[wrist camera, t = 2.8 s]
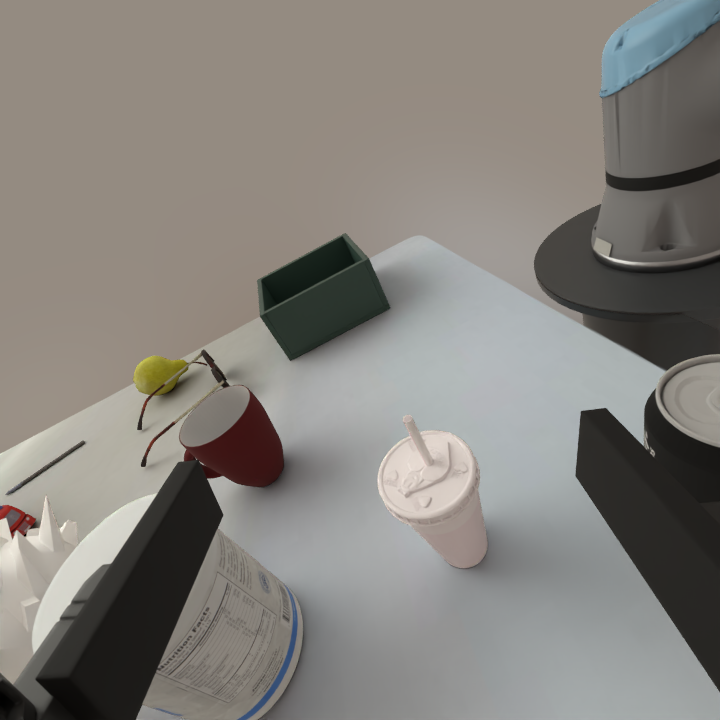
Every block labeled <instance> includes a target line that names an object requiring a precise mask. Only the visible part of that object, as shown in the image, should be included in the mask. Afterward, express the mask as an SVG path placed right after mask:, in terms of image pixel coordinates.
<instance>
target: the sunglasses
mask: <svg viewBox="0 0 720 720" xmlns="http://www.w3.org/2000/svg"><path fill="white" fill-rule="evenodd" d="M202 355H203V357H204V359H205V360H206V362H207V363H208V364H209V366H210V367H211V368H212V369H211V371H212V373H213V375H214V377H215V378H216V380H217V381H218V384H217V385H216V386H215V387H213V388H212V389H211V390H210V392H208V393H207V394H206V395H205V396H204V397H203V398H201V399H200V400H199V401H198V402H197V403H196V404H194V405H193V406H192V407H191V408H190V409H188V410H187V411H186V412H185V413H184V414H182V415H181V416H180V417H179V418H178V419H176V420H175V421H174V422H172V423H171V424H170V425H169V426H168V427H166V428H165V429H164V430H163V431H162V432H160V433H159V434H158V435H157V436H156V437H155V438H154V439H153V440H152V441H151V442H150V444H149V446H148V448H147V450H146V453H145V455H144V457H143V459H142V462H141V467H145V466H146V461H147V455H148V453H149V451H150V449H151V447H152V445H153V443H154V442H155V441H156V440H157V439H158V438H159V437H160V436H161V435H163V434H164V433H165V432H166V431H167V430H169V429H170V428H171V427H172V426H173V425H175V424H176V423H177V422H178V421H179V420H180V419H182V418H183V417H184V416H185V415H186V414H188V413H189V412H190V411H191V410H192V409H193V408H195V407H196V406H197V405H198V404H199V403H200V402H202V401H203V400H204V399H205V398H206V397H207V396H209V395H210V394H211V393H213V392H214V391H215V390H216V389H218V388H219V387H220V386H223V387H224V388H226V387H229V386H230V385H229V384H228V383H227V382H226V380H227V379H226V377H225V375H224V374H223V372H222V371H221V370H220V369H219V368H218V366H217V365H216V364H215V363H214V360H213V359H212V358H211V357H210V356H209V354H208V353H207V352H206V351H205V350H202V351H201V353H200V354H199V355H198V356H197V357H195V358H194V359H193V360H192V361H191V362H190V363H189V364H187V365H186V366H185V367H184V368H183V369H181V370H180V371H179V372H178V373H176V374H175V375H174V376H173V377H171V378H170V379H169V380H168V381H166V382H165V383H164V384H163V385H161V386H160V387H159V388H158V389H157V390H155V391H154V392H153V393H152V394H151V395H150V396H149V397H148V398H147V399H146V401H145V403H144V405H143V408H142V412H141V415H140V419H139V422H138V428H137V430H142V417H143V414H144V410H145V407H146V405H147V402H148V401H149V400H150V398H151V397H152V396H153V395H154V394H156V393H157V392H158V391H159V390H160V389H162V388H163V387H164V386H165V385H166V384H167V383H169V382H170V381H171V380H172V379H174V378H175V377H176V376H177V375H179V374H180V373H181V372H182V371H183V370H185V369H186V368H187V367H188V366H189V365H191V364H192V363H193V362H194V361H196V360H198V359H199V358H200V357H201V356H202Z"/></svg>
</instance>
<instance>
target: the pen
mask: <svg viewBox="0 0 720 720" xmlns="http://www.w3.org/2000/svg"><path fill="white" fill-rule="evenodd" d="M84 443H85V441H81V442H80V443H78V444H77V445H76V446H74V447H73V448H71V449H70V450H68V451H67V452H65V453H64V454H62V455H61V456H59V457H58V458H56V459H55V460H53V461H52V462H50V463H49V464H48V465H46V466H45V467H43V468H42V469H40V470H39V471H37V472H36V473H34V474H33V475H31V476H30V477H28V478H27V479H25V480H24V481H22V482H21V483H19V484H18V485H16V486H15V487H14V488H12V489H11V490H9V491H8V492H7V493H6V494H5V495H8V494H10V493H12V492H14V491H15V490H17V489H18V488H19V487H21V486H22V485H24V484H25V483H27V482H28V481H30V480H31V479H33V478H34V477H35V476H37V475H38V474H40V473H41V472H43V471H44V470H46V469H47V468H49V467H50V466H52V465H53V464H55V463H56V462H57V461H59V460H60V459H62V458H63V457H65V456H66V455H68V454H69V453H71V452H72V451H74V450H75V449H77V448H78V447H79V446H81V445H82V444H84Z"/></svg>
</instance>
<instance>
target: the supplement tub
mask: <svg viewBox="0 0 720 720" xmlns="http://www.w3.org/2000/svg"><path fill="white" fill-rule="evenodd" d="M156 495H157V494H152V495H148V496H145V497H142V498H139V499H137V500H134V501H132V502H130V503H128V504H127V505H125V506H123V507H122V508H120V509H118V510H117V511H115V512H114V513H113V514H111V515H110V516H109V517H107V518H106V519H105V520H103V521H102V522H101V523H100V524H99V525H98V526H97V527H96V528H95V529H93V530H92V531H91V532H90V533H89V534H88V535H87V536H86V537H85V538H84V539H83V540H82V541H81V543H80V544H79V545H78V546H77V547H76V548H75V550H74V551H73V552H72V553H71V554H70V556H69V557H68V558H67V560H66V561H65V562H64V564H63V565H62V566H61V568H60V569H59V571H58V572H57V574H56V575H55V577H54V579H53V580H52V582H51V584H50V586H49V587H48V589H47V591H46V593H45V595H44V597H43V599H42V602H41V604H40V606H39V609H38V612H37V615H36V618H35V622H34V626H33V632H32V648H33V653H34V654H35V652H36V651H37V649H38V648H39V646H40V645H41V644H42V642H43V641H44V639H45V638H46V636H47V635H48V634H49V632H50V631H51V629H52V628H53V626H54V625H55V623H56V622H59V620H60V616H61V615H62V613H63V612H64V611H65V609H66V608H67V606H68V605H70V604H71V600H72V599H73V598H74V596H75V595H76V593H77V592H78V590H79V589H80V588H81V586H82V585H83V583H84V582H85V581H86V580H87V579H88V578H89V577H90V576H91V575H92V574H93V573H94V572H95V571H96V570H97V569H98V568H99V567H101V566H102V565H104V564H111V563H112V562H113V560H114V559H115V557H116V556H117V554H118V553H119V551H120V550H121V548H122V547H123V545H124V544H125V542H126V541H127V539H128V538H129V536H130V534H131V533H132V531H133V530H134V528H135V527H136V525H137V524H138V522H139V521H140V519H141V518H142V516H143V515H144V513H145V512H146V510H147V509H148V507H149V506H150V504H151V503H152V501H153V500H154V498H155V497H156ZM302 639H303V620H302V614H301V609H300V606H299V603H298V601H297V599H296V597H295V596H294V594H293V592H292V591H291V590H290V589H289V588H288V587H287V586H286V585H285V584H284V583H283V582H281V581H280V580H279V579H278V578H277V577H275V576H274V575H273V574H272V573H271V572H269V571H268V570H267V569H266V568H265V567H263V566H262V565H261V564H260V563H259V562H258V561H256V560H255V559H254V558H253V557H252V556H250V555H249V554H248V553H247V552H245V551H244V550H243V549H242V548H241V547H239V546H238V545H237V544H236V543H235V542H233V541H232V540H231V539H230V538H229V537H227V536H226V535H225V534H224V533H223V532H221V531H220V530H219V529H217V531H216V533H215V536H214V538H213V540H212V543H211V545H210V547H209V550H208V552H207V554H206V557H205V559H204V561H203V564H202V566H201V568H200V571H199V573H198V575H197V578H196V580H195V582H194V585H193V587H192V589H191V592H190V594H189V596H188V599H187V601H186V603H185V606H184V608H183V610H182V613H181V615H180V617H179V620H178V622H177V624H176V627H175V629H174V631H173V634H172V636H171V638H170V641H169V643H168V645H167V648H166V650H165V652H164V655H163V657H162V659H161V662H160V664H159V666H158V669H157V671H156V673H155V676H154V678H153V680H152V683H151V685H150V687H149V690H148V692H147V694H146V697H145V699H144V701H143V704H142V705H144V706H147V707H150V708H154V709H157V710H160V711H163V712H166V713H169V714H172V715H175V716H178V717H181V718H184V719H187V720H258V719H259V718H261V717H262V716H263V715H264V714H265V713H266V712H267V711H268V710H269V709H270V708H271V707H272V706H273V705H274V704H275V703H276V702H277V700H278V699H279V698H280V696H281V695H282V694H283V692H284V690H285V689H286V687H287V686H288V684H289V682H290V680H291V678H292V676H293V673H294V671H295V668H296V666H297V663H298V659H299V656H300V652H301V646H302Z"/></svg>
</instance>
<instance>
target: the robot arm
mask: <svg viewBox="0 0 720 720" xmlns="http://www.w3.org/2000/svg"><path fill="white" fill-rule="evenodd" d="M600 97H601V98H602V107H603V127H604V148H605V169H606V189H605V193H604V196H603V200H602V204H601V208H600V213H599V217H598V220H597V222H596V223H595V225H594V228H593V231H592V238H591V243H592V253H593V255H594V257H595V258H596V259H597V260H598V261H599V262H600V263H602V264H604V265H606V266H608V267H611V268H613V269H617V270H621V271H626V272H634V273H667V272H676V271H683V270H689V269H694V268H698V267H702V266H706V265H709V264H712V263H715V262H718V261H720V0H659V1H657V2H656V3H654V4H653V5H651V6H649V7H648V8H646V9H644V10H643V11H641V12H640V13H638V14H637V15H635V16H634V17H632V18H631V19H629V20H628V21H627V22H625V23H624V24H623V25H622V26H620V27H619V28H618V29H617V30H616V31H615V32H614V33H613V35H612V36H611V37H610V38H609V40H608V41H607V43H606V45H605V47H604V50H603V54H602V88H601V90H600ZM576 477H577V479H578V480H579V482H580V483H581V485H582V486H583V488H584V489H585V491H586V492H587V494H588V495H589V497H590V498H591V500H592V501H593V503H594V504H595V506H596V507H597V509H598V510H599V512H600V513H601V515H602V516H603V518H604V519H605V521H606V522H607V524H608V525H609V527H610V528H611V530H612V531H613V533H614V534H615V536H616V537H617V539H618V540H619V542H620V543H621V545H622V546H623V548H624V549H625V551H626V552H627V554H628V555H629V557H630V558H631V560H632V561H633V563H634V564H635V566H636V567H637V569H638V570H639V572H640V573H641V575H642V576H643V578H644V579H645V581H646V582H647V584H648V585H649V587H650V588H651V590H652V591H653V593H654V594H655V596H656V597H657V599H658V600H659V602H660V603H661V605H662V606H663V608H664V609H665V611H666V612H667V614H668V615H669V617H670V618H671V620H672V621H673V623H674V624H675V626H676V627H677V629H678V630H679V632H680V633H681V635H682V636H683V638H684V639H685V641H686V642H687V644H688V645H689V647H690V648H691V650H692V651H693V653H694V654H695V656H696V657H697V659H698V660H699V662H700V663H701V665H702V666H703V668H704V669H705V671H706V672H707V674H708V675H709V677H710V678H711V680H712V681H713V683H714V684H715V686H716V687H717V689H718V690H719V692H720V501H717V502H707V503H699V502H698V501H697V500H696V499H695V498H694V497H693V496H692V495H691V494H690V493H689V492H688V491H687V490H686V489H685V488H684V487H683V486H682V485H681V484H680V483H679V482H678V481H677V480H676V479H675V478H674V477H673V476H672V475H671V474H670V473H669V472H668V471H667V470H666V469H665V468H664V467H663V466H662V465H661V464H660V463H659V462H658V461H657V460H656V459H655V458H654V457H653V456H652V455H651V454H650V453H649V452H648V451H647V450H646V449H645V447H644V446H643V445H642V444H641V443H640V442H639V441H638V440H637V439H636V438H635V437H634V436H633V435H632V434H631V433H630V432H629V431H628V430H627V429H626V428H625V427H624V426H623V425H622V424H621V423H620V422H619V421H618V420H617V419H616V418H615V417H614V416H613V415H612V414H611V413H610V412H609V411H608V410H607V409H606V408H602V409H594V410H586V411H581V416H580V428H579V441H578V453H577V465H576ZM222 517H223V513H222V511H221V509H220V507H219V504H218V502H217V500H216V498H215V495H214V493H213V491H212V489H211V487H210V484H209V482H208V480H207V478H206V475H205V473H204V471H203V469H202V467H201V464H200V462H199V460H192V461H184V462H178V463H177V465H176V466H175V468H174V469H173V471H172V472H171V474H170V475H169V477H168V478H167V480H166V481H165V483H164V485H163V486H162V488H161V489H160V491H159V492H158V494H157V495H156V497H155V498H154V500H153V501H152V503H151V504H150V506H149V507H148V509H147V510H146V512H145V513H144V515H143V516H142V518H141V519H140V521H139V522H138V524H137V525H136V527H135V528H134V530H133V531H132V533H131V534H130V536H129V538H128V539H127V541H126V542H125V544H124V545H123V547H122V548H121V550H120V551H119V553H118V554H117V556H116V557H115V559H114V560H113V562H112V563H111V564H104V565H102V566H101V567H99V568H98V569H97V570H96V571H95V572H94V573H93V574H92V575H91V576H90V577H89V578H88V579H87V580H86V581H85V582H84V583H83V585H82V586H81V588H80V589H79V590H78V592H77V593H76V595H75V596H74V598H73V599H72V600H71V604H70V605H68V606H67V608H66V609H65V611H64V612H63V613H62V615H61V616H60V620H59V622H56V623H55V625H54V626H53V628H52V629H51V631H50V632H49V634H48V635H47V636H46V638H45V639H44V641H43V642H42V644H41V645H40V646H39V648H38V649H37V651H36V652H35V654H34V655H33V657H32V658H31V659H30V661H29V662H28V664H27V665H26V667H25V668H24V669H23V671H22V672H21V674H20V675H19V677H18V678H17V680H16V681H15V682H14V684H12V683H11V682H9V681H8V680H7V679H6V678H5V677H4V676H3V675H2V674H1V673H0V720H136V718H137V715H138V713H139V711H140V708H141V706H142V704H143V701H144V699H145V697H146V694H147V692H148V690H149V687H150V685H151V683H152V680H153V678H154V676H155V673H156V671H157V669H158V666H159V664H160V662H161V659H162V657H163V655H164V652H165V650H166V648H167V645H168V643H169V641H170V638H171V636H172V634H173V631H174V629H175V627H176V624H177V622H178V620H179V617H180V615H181V613H182V610H183V608H184V606H185V603H186V601H187V599H188V596H189V594H190V592H191V589H192V587H193V585H194V582H195V580H196V578H197V575H198V573H199V571H200V568H201V566H202V564H203V561H204V559H205V557H206V554H207V552H208V550H209V547H210V545H211V543H212V540H213V538H214V536H215V533H216V531H217V529H218V526H219V524H220V522H221V519H222Z"/></svg>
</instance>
